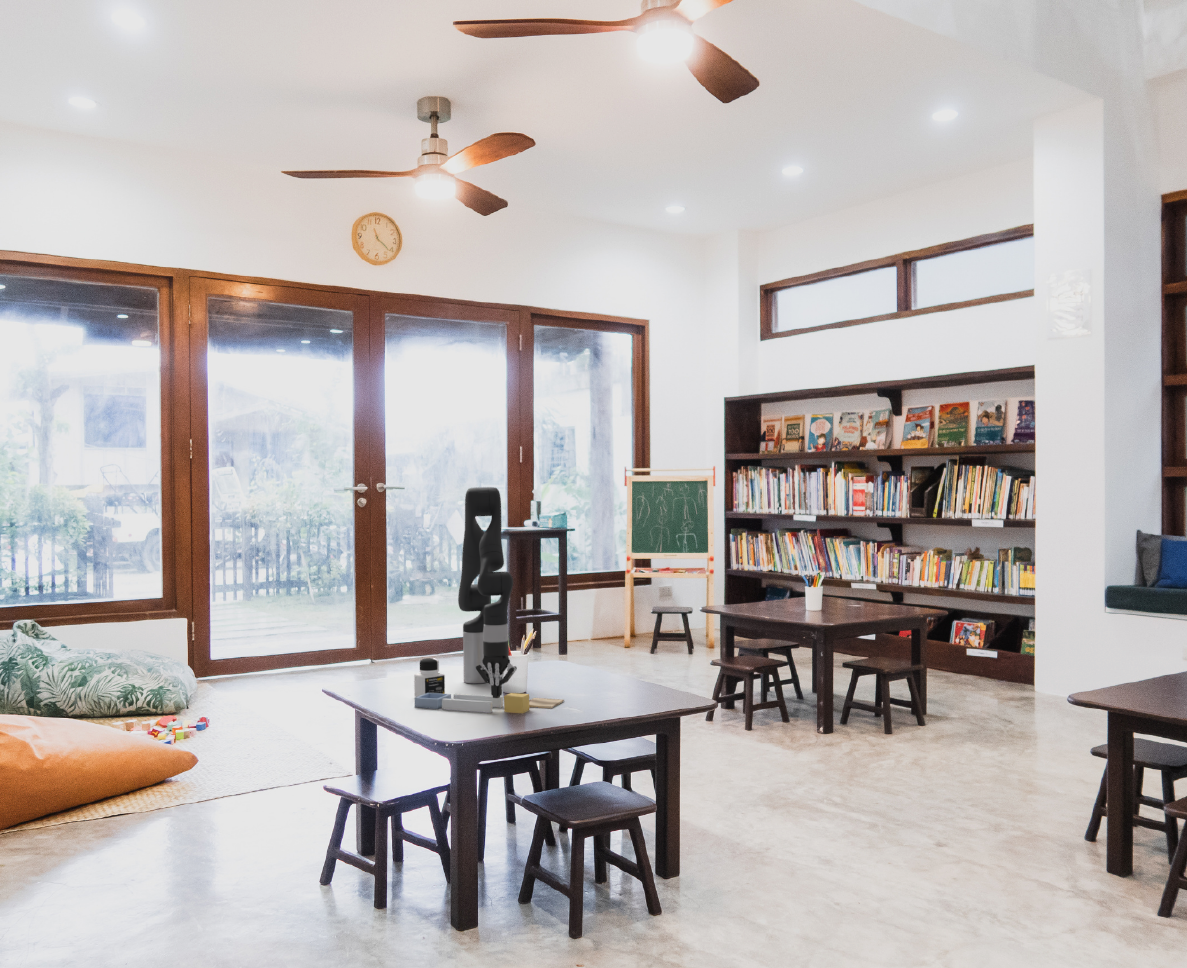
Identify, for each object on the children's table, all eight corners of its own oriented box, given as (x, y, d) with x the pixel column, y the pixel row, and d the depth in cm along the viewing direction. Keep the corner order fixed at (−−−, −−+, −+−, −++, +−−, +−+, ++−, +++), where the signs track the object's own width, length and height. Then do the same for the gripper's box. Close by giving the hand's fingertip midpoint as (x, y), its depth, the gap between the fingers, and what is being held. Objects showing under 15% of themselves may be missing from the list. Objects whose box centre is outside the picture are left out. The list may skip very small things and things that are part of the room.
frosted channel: (442, 709, 279) (442, 699, 279) (455, 703, 287) (455, 693, 287) (490, 712, 273) (490, 702, 273) (503, 706, 281) (503, 696, 281)
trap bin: (428, 701, 290) (428, 692, 290) (451, 703, 287) (450, 694, 287) (414, 707, 282) (414, 698, 282) (438, 709, 279) (437, 699, 279)
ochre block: (510, 709, 278) (510, 693, 278) (529, 710, 276) (529, 694, 276) (504, 712, 274) (504, 696, 274) (522, 713, 272) (522, 697, 272)
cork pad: (534, 699, 290) (534, 697, 290) (564, 701, 287) (564, 699, 287) (520, 706, 281) (520, 704, 281) (551, 708, 278) (551, 706, 278)
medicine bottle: (425, 700, 292) (424, 661, 293) (414, 696, 298) (413, 658, 298) (445, 696, 297) (444, 658, 297) (433, 693, 302) (433, 656, 303)
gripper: (521, 638, 279) (522, 696, 279) (481, 636, 284) (482, 693, 283) (510, 642, 272) (511, 701, 272) (470, 640, 276) (470, 699, 276)
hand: (496, 697), depth 278 cm, fingers closed
